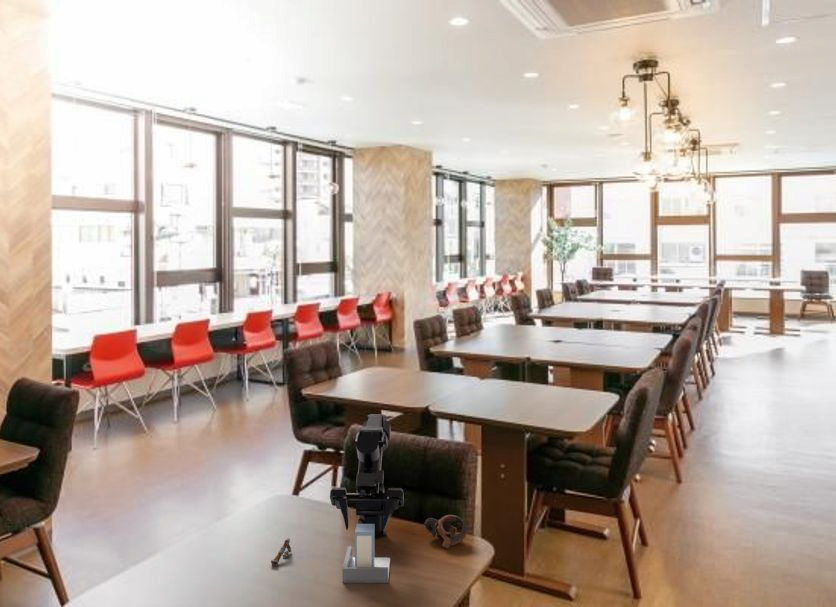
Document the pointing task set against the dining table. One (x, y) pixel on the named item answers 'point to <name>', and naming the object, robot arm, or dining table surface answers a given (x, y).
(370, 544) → the slate block
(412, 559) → the dining table surface
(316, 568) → the dining table surface
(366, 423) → the robot arm
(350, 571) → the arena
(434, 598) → the dining table surface
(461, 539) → the pottery mug
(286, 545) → the wooden post with brackets
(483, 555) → the dining table surface
